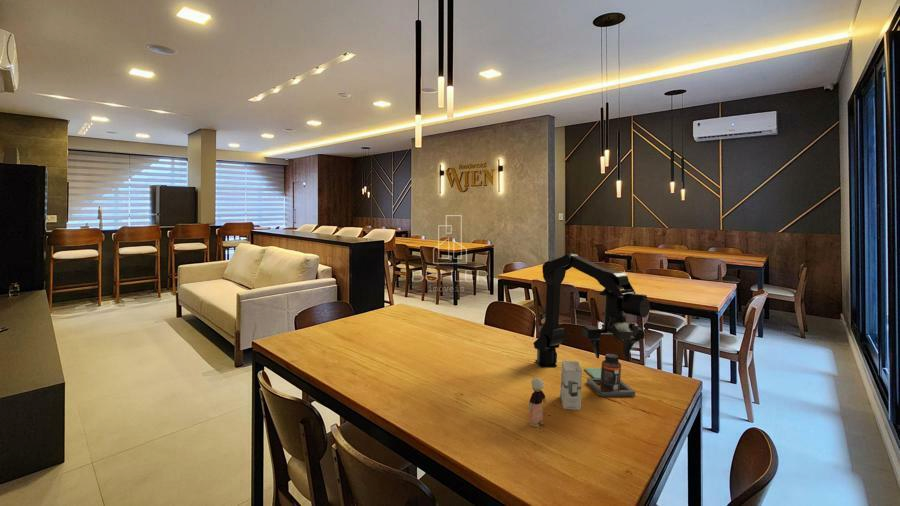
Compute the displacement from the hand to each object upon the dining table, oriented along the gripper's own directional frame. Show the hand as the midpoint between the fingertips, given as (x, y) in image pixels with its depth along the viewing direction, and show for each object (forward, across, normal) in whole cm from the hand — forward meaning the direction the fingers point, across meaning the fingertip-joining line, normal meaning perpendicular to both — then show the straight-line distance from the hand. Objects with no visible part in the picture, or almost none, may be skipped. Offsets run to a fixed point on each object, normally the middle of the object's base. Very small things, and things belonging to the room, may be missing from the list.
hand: (611, 358), depth 134 cm
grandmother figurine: (+11, -31, -22) cm, 39 cm away
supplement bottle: (+11, 0, 0) cm, 11 cm away
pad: (+10, +3, +12) cm, 16 cm away
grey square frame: (+10, 0, 0) cm, 10 cm away
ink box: (+11, -17, -10) cm, 22 cm away
